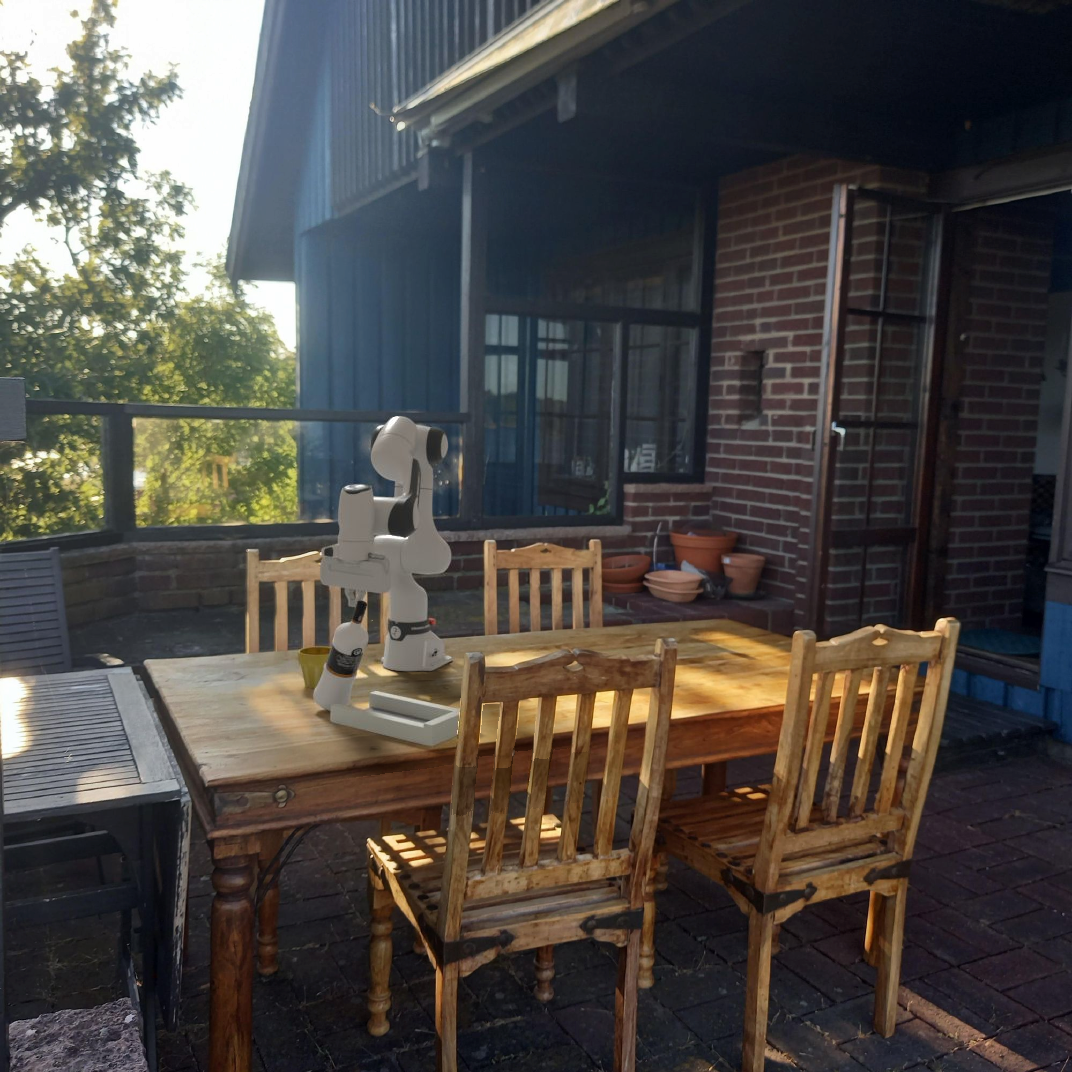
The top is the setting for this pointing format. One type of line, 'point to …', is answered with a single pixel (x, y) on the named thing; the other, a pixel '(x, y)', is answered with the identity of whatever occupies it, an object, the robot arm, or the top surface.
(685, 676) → the top surface
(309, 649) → the plant pot
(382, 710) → the cradle
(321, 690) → the vodka
